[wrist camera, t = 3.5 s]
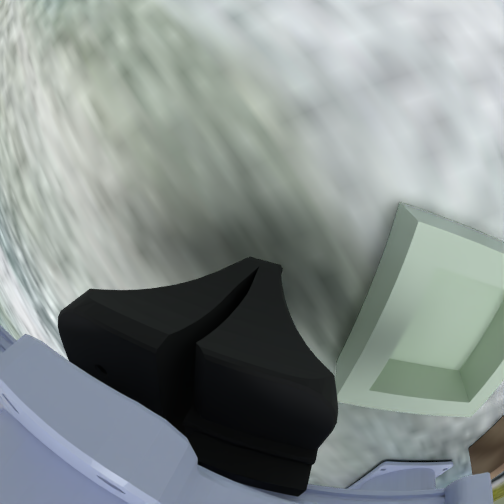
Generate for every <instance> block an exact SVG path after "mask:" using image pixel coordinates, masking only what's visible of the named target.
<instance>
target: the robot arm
mask: <svg viewBox="0 0 504 504" xmlns="http://www.w3.org/2000/svg"><path fill="white" fill-rule="evenodd" d="M281 273H282V267H281V265H278V264H274V263H271V262H267V261H263V260H260V259H256V258H253V257H248V258H246V259H244V260H242V261H240V262H237V263H235V264H233V265H231V266H229V267H227V268H224V269H222V270H220V271H217V272H215V273H212V274H210V275H207V276H204V277H202V278H199V279H196V280H192V281H189V282H185V283H181V284H176V285H171V286H165V287H158V288H152V289H141V290H101V289H89V290H88V291H87V292H85V293H84V294H82V295H81V296H80V297H78V298H77V299H76V300H75V301H73V302H72V303H71V304H69V305H68V306H67V307H65V308H64V309H63V310H61V312H60V314H59V316H58V329H59V333H60V337H61V340H62V343H63V346H64V349H65V351H66V354H67V357H68V359H69V361H68V360H67V359H65V358H64V357H63V356H61V355H60V354H58V353H57V352H56V351H54V350H53V349H52V348H50V347H49V346H48V345H46V344H45V343H44V342H42V341H40V340H38V339H36V338H34V337H33V336H30V335H27V334H25V335H23V336H22V337H21V338H20V339H19V340H17V341H16V340H15V339H14V338H13V337H12V336H11V335H10V334H9V333H8V332H7V331H6V330H5V329H4V328H3V327H2V326H1V325H0V504H493V494H492V485H491V478H490V473H488V472H486V473H481V474H475V475H468V476H464V477H462V478H459V479H457V480H455V481H454V482H452V483H451V484H449V485H448V486H447V487H446V488H442V489H436V484H435V478H437V477H438V476H439V475H441V474H442V473H444V472H445V471H447V470H448V469H449V468H451V467H452V466H453V462H452V461H449V462H390V461H387V462H383V463H381V464H380V465H379V466H378V467H376V468H375V469H374V470H372V471H371V472H370V473H368V474H367V475H366V476H364V477H363V478H362V479H360V480H359V481H357V482H356V483H354V484H353V485H352V486H350V487H349V488H347V489H343V488H334V487H326V486H319V485H312V484H308V480H309V476H310V471H311V466H312V465H313V464H314V463H315V460H316V456H317V451H318V448H319V447H320V445H321V444H322V443H323V442H324V441H325V439H326V438H327V437H328V436H329V435H330V433H331V432H332V431H333V429H334V427H335V425H336V423H337V416H338V401H337V390H336V384H335V378H334V375H333V374H332V373H331V372H330V371H329V370H328V369H327V368H326V367H325V366H324V364H323V363H322V362H321V361H320V360H319V359H318V358H317V357H316V356H315V355H314V354H313V353H312V351H311V350H310V349H309V348H308V346H307V345H306V343H305V342H304V340H303V339H302V337H301V336H300V334H299V332H298V331H297V329H296V327H295V325H294V323H293V320H292V318H291V316H290V313H289V311H288V308H287V305H286V301H285V298H284V293H283V288H282V281H281Z"/></svg>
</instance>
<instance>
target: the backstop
mask: <svg viewBox="0 0 504 504" xmlns="http://www.w3.org/2000/svg"><path fill="white" fill-rule="evenodd" d="M469 454H470V461H471V467H472V475H475V474H481V473H486V472H488V473H490V478H491V479H493V478H494V477H496V476H497V475H498V474H500V473H501V472H503V471H504V416H503V417H502V418H501V419H500V420H499V421H498V422H497V423H496V424H495V425H494V426H493V427H492V428H491V429H490V430H489V431H487V432H486V433H485V434H484V435H483V436H482V437H481V438H480V439H479V440H478V441H476V442H475V443H474V444H473V445H472V446H471V447H469Z"/></svg>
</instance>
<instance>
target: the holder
mask: <svg viewBox="0 0 504 504" xmlns="http://www.w3.org/2000/svg"><path fill="white" fill-rule="evenodd" d="M503 380H504V242H503V241H501V240H498V239H496V238H494V237H492V236H489V235H487V234H485V233H482V232H480V231H477V230H475V229H473V228H470V227H468V226H465V225H463V224H460V223H458V222H455V221H452V220H450V219H447V218H445V217H442V216H439V215H436V214H434V213H431V212H428V211H425V210H422V209H420V208H417V207H414V206H411V205H408V204H405V203H402V202H400V203H399V206H398V210H397V213H396V216H395V220H394V223H393V226H392V229H391V232H390V235H389V238H388V241H387V244H386V247H385V250H384V252H383V255H382V258H381V261H380V263H379V266H378V269H377V271H376V274H375V277H374V279H373V282H372V284H371V287H370V289H369V292H368V294H367V297H366V299H365V301H364V304H363V306H362V308H361V311H360V313H359V315H358V318H357V320H356V322H355V324H354V326H353V329H352V331H351V333H350V335H349V337H348V339H347V341H346V344H345V346H344V348H343V350H342V352H341V354H340V356H339V358H338V360H337V364H336V378H335V384H336V390H337V401H338V402H340V403H345V404H350V405H356V406H361V407H367V408H373V409H380V410H387V411H394V412H402V413H411V414H421V415H434V416H450V417H472V416H473V414H474V413H475V412H476V411H477V410H478V409H479V408H480V407H481V406H482V405H483V404H484V403H485V402H486V400H487V399H488V398H489V397H490V396H491V395H492V394H493V392H494V391H495V390H496V389H497V388H498V386H499V385H500V384H501V383H502V381H503Z"/></svg>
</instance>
